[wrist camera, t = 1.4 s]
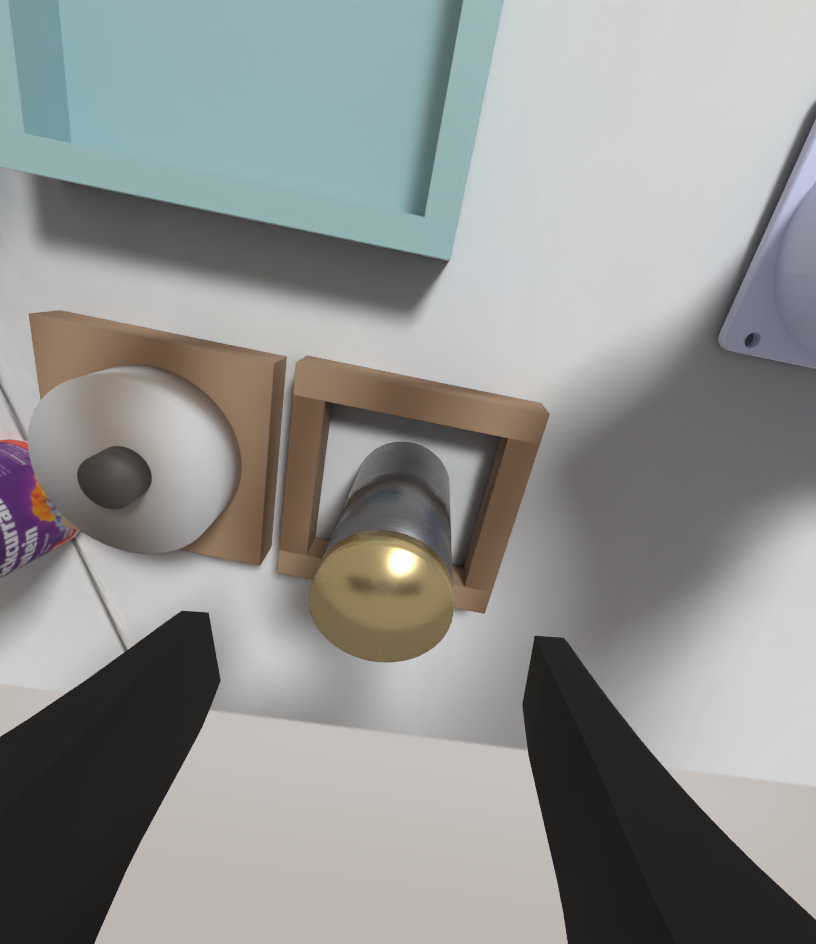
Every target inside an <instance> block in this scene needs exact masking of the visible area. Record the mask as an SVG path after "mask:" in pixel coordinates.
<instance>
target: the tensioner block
mask: <svg viewBox="0 0 816 944" xmlns="http://www.w3.org/2000/svg"><path fill="white" fill-rule="evenodd" d="M29 319H30V327H31V334H32V341H33V348H34V355H35V363H36V370H37V377H38V384H39V391H40V399H41V401H40V402H39V404H38V405H37V407H36V408H35V410H34V413H33V415H32V418H31V421H30V425H29V430H28V450H29V456H30V461H31V465H32V468H33V470H34V473H35V476H36V478H37V480H38V482H39V484H40V486H41V488H42V489H43V491H44V493H45V494H46V496H47V497H48V499H49V500H50V501H51V503H52V504H53V505H54V506H55V508H56V509H57V510H58V511H59V512H60V513H61V516H62V523H63V527H68V528H73V529H78V530H81V531H82V532H84V533H85V534H87V535H89V536H90V537H92V538H94V539H95V540H98V541H100V542H102V543H104V544H106V545H109V546H111V547H114V548H117V549H120V550H124V551H128V552H134V553H141V554H158V553H166V552H170V551H174V550H177V549H179V550H184V551H189V552H194V553H199V554H204V555H209V556H215V557H220V558H225V559H230V560H235V561H240V562H245V563H250V564H255V565H260V564H261V563H262V561H263V559H264V558H265V556H266V555H267V553H268V551H269V550H270V548H271V544H272V532H273V519H274V507H275V494H276V482H277V470H278V457H279V445H280V433H281V420H282V408H283V395H284V383H285V371H286V358H287V357H286V356H281V355H276V354H271V353H266V352H261V351H256V350H251V349H247V348H242V347H237V346H232V345H227V344H222V343H217V342H212V341H207V340H202V339H197V338H193V337H188V336H183V335H178V334H173V333H168V332H163V331H158V330H153V329H148V328H144V327H139V326H134V325H129V324H124V323H119V322H114V321H109V320H104V319H99V318H95V317H90V316H85V315H80V314H75V313H70V312H65V311H50V312H40V313H31V314H29ZM332 403H337V404H342V405H347V406H352V407H357V408H362V409H367V410H372V411H377V412H382V413H387V414H391V415H396V416H401V417H406V418H411V419H416V420H421V421H426V422H431V423H436V424H441V425H446V426H451V427H456V428H460V429H465V430H470V431H475V432H480V433H485V434H490V435H495V436H500V440H499V444H498V447H497V451H496V454H495V457H494V461H493V464H492V468H491V471H490V475H489V478H488V482H487V485H486V489H485V492H484V496H483V499H482V503H481V506H480V510H479V513H478V517H477V520H476V524H475V527H474V531H473V534H472V538H471V541H470V545H469V548H468V552H467V555H466V559H465V562H464V566H463V567H461V566H456V565H452V582H453V608H458V609H463V610H468V611H474V612H479V613H484V614H485V611H486V608H487V604H488V601H489V598H490V595H491V592H492V589H493V586H494V583H495V580H496V577H497V574H498V571H499V568H500V565H501V562H502V558H503V555H504V552H505V549H506V546H507V543H508V540H509V537H510V534H511V531H512V528H513V525H514V522H515V519H516V516H517V512H518V509H519V506H520V503H521V500H522V497H523V494H524V491H525V488H526V485H527V482H528V479H529V476H530V473H531V470H532V466H533V463H534V460H535V457H536V454H537V451H538V448H539V445H540V442H541V439H542V436H543V433H544V430H545V427H546V424H547V420H548V417H549V413H548V412H547V410H546V409H545V408H544V406H543V405H542V404H541V403H536V402H532V401H527V400H522V399H517V398H512V397H507V396H502V395H497V394H492V393H487V392H483V391H478V390H473V389H468V388H463V387H458V386H453V385H448V384H443V383H438V382H434V381H429V380H424V379H419V378H414V377H409V376H404V375H399V374H394V373H389V372H385V371H380V370H375V369H370V368H365V367H360V366H355V365H350V364H345V363H340V362H336V361H331V360H326V359H321V358H316V357H311V356H306V357H304V358H303V359H301V360H299V361H298V362H296V369H295V380H294V391H293V402H292V413H291V425H290V436H289V447H288V458H287V469H286V481H285V492H284V503H283V514H282V525H281V537H280V548H279V559H278V570H277V573H282V574H287V575H292V576H297V577H302V578H307V579H312V580H314V577H315V575H316V573H317V570H318V568H319V565H320V563H321V561H322V558H323V556H324V554H325V551H326V549H327V546H328V544H329V542H330V540H325V539H320V538H315V535H316V527H317V519H318V511H319V503H320V495H321V487H322V479H323V471H324V463H325V455H326V447H327V439H328V431H329V423H330V415H331V407H332Z"/></svg>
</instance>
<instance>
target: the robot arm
mask: <svg viewBox="0 0 816 944" xmlns="http://www.w3.org/2000/svg"><path fill="white" fill-rule="evenodd" d="M751 333H753V335H754V339H753V341H752V342H751V344H749V345H747V346H745V343H744V342H745V338H746V337H747V336H748V335H749V334H751ZM718 341H719V345H720V346H721V347H722V348H723V349H725V350H728V351H731V352H736V353H741V354H746V355H751V356H756V357H760V358H765V359H770V360H775V361H780V362H785V363H790V364H794V365H799V366H804V367H809V368H814V369H816V119H815V122H814V124H813V126H812V128H811V131H810V133H809V135H808V137H807V140H806V142H805V144H804V146H803V148H802V151H801V153H800V155H799V157H798V160H797V162H796V164H795V166H794V169H793V171H792V173H791V175H790V177H789V180H788V182H787V184H786V186H785V189H784V191H783V193H782V195H781V197H780V200H779V202H778V204H777V206H776V209H775V211H774V213H773V215H772V218H771V220H770V222H769V224H768V226H767V229H766V231H765V233H764V235H763V238H762V240H761V242H760V244H759V247H758V249H757V251H756V253H755V255H754V258H753V260H752V262H751V264H750V267H749V269H748V271H747V273H746V276H745V278H744V280H743V282H742V284H741V287H740V289H739V291H738V293H737V296H736V298H735V300H734V302H733V304H732V307H731V309H730V311H729V313H728V316H727V318H726V320H725V322H724V325H723V327H722V329H721V331H720V334H719V338H718ZM219 683H220V675H219V669H218V664H217V658H216V652H215V647H214V641H213V635H212V630H211V624H210V618H209V613H205V612H191V611H181V612H180V613H178V614H177V615H175V616H174V617H172V618H171V619H169V620H168V621H167V622H165V623H164V624H163V625H161V626H160V627H158V628H157V629H156V630H154V631H153V632H152V633H150V634H149V635H148V636H146V637H145V638H143V639H142V640H141V641H139V642H138V643H137V644H135V645H134V646H133V647H131V648H130V649H129V650H127V651H126V652H124V653H123V654H122V655H120V656H119V657H117V658H116V659H115V660H113V661H112V662H111V663H109V664H108V665H106V666H105V667H104V668H102V669H101V670H99V671H98V672H97V673H95V674H94V675H93V676H91V677H90V678H88V679H87V680H86V681H84V682H83V683H81V684H80V685H78V686H77V687H75V688H74V689H72V690H71V691H69V692H68V693H66V694H65V695H64V696H62V697H60V698H59V699H57V700H56V701H55V702H53V703H52V704H50V705H48V706H47V707H46V708H44V709H43V710H41V711H40V712H38V713H37V714H35V715H34V716H32V717H31V718H30V719H28V720H26V721H25V722H23V723H21V724H20V725H18V726H17V727H15V728H14V729H12V730H10V731H9V732H7V733H6V734H4V735H2V736H1V737H0V944H94V943H95V940H96V938H97V936H98V933H99V931H100V929H101V926H102V924H103V922H104V920H105V917H106V915H107V913H108V910H109V908H110V906H111V904H112V901H113V899H114V897H115V895H116V892H117V890H118V888H119V886H120V883H121V881H122V879H123V877H124V874H125V872H126V870H127V868H128V866H129V864H130V862H131V860H132V858H133V856H134V854H135V852H136V850H137V848H138V846H139V844H140V842H141V840H142V838H143V836H144V834H145V832H146V831H147V829H148V827H149V825H150V823H151V821H152V820H153V817H154V816H155V814H156V812H157V810H158V808H159V807H160V805H161V803H162V801H163V799H164V797H165V796H166V794H167V792H168V790H169V788H170V786H171V784H172V783H173V781H174V779H175V777H176V775H177V773H178V772H179V770H180V768H181V766H182V764H183V762H184V760H185V759H186V757H187V755H188V753H189V751H190V749H191V747H192V745H193V744H194V742H195V740H196V738H197V736H198V734H199V732H200V730H201V728H202V726H203V723H204V721H205V719H206V716H207V714H208V712H209V709H210V707H211V704H212V702H213V699H214V696H215V694H216V691H217V689H218V686H219ZM523 713H524V722H525V731H526V738H527V746H528V754H529V759H530V764H531V768H532V773H533V777H534V781H535V786H536V790H537V795H538V799H539V804H540V808H541V812H542V817H543V821H544V825H545V830H546V834H547V838H548V843H549V847H550V851H551V856H552V860H553V865H554V869H555V873H556V878H557V882H558V888H559V892H560V898H561V903H562V908H563V913H564V920H565V927H566V934H567V940H568V944H816V920H815V919H814V918H813V917H812V916H811V915H810V914H809V913H808V912H807V911H806V910H805V909H803V908H802V907H801V906H800V905H799V904H798V903H797V902H796V901H795V900H794V899H793V898H792V897H790V896H789V895H788V894H787V893H786V892H785V891H784V890H783V889H782V888H781V887H780V886H779V885H777V884H776V883H775V882H774V881H773V880H772V879H771V878H770V877H769V876H768V875H767V874H766V873H765V872H763V871H762V870H761V869H760V868H759V867H758V866H757V865H756V864H755V863H754V862H753V861H752V860H751V859H750V858H749V857H748V856H747V855H746V854H745V853H744V852H743V851H742V850H741V849H740V848H739V847H738V846H737V845H736V844H735V843H734V842H733V841H732V840H731V839H730V838H729V837H728V836H727V835H726V834H725V833H724V832H723V831H722V830H721V829H720V828H719V827H718V826H717V825H716V824H715V823H714V822H713V821H712V820H711V819H710V818H709V817H708V816H707V814H706V813H705V812H704V811H703V810H702V809H701V808H700V807H699V806H698V805H697V804H696V803H695V802H694V800H693V799H692V798H691V797H690V796H689V795H688V794H687V793H686V792H685V791H684V789H683V788H682V787H681V786H680V785H679V784H678V783H677V782H676V781H675V780H674V778H673V777H672V776H671V775H670V774H669V773H668V771H667V770H666V769H665V768H664V767H663V766H662V764H661V763H660V762H659V761H658V760H657V759H656V757H655V756H654V755H653V754H652V753H651V752H650V750H649V749H648V748H647V747H646V745H645V744H644V743H643V742H642V741H641V739H640V738H639V737H638V736H637V735H636V733H635V732H634V731H633V729H632V728H631V727H630V726H629V724H628V723H627V722H626V721H625V719H624V718H623V717H622V716H621V714H620V713H619V712H618V710H617V709H616V708H615V707H614V705H613V704H612V703H611V701H610V700H609V699H608V697H607V696H606V695H605V694H604V692H603V691H602V689H601V688H600V687H599V685H598V684H597V683H596V681H595V680H594V679H593V677H592V676H591V674H590V673H589V672H588V670H587V669H586V668H585V666H584V665H583V663H582V662H581V661H580V659H579V658H578V656H577V655H576V653H575V652H574V651H573V649H572V648H571V646H570V645H569V644H568V642H567V641H566V640H565V639H564V638H558V637H544V636H535V638H534V644H533V649H532V655H531V660H530V666H529V671H528V677H527V682H526V688H525V694H524V699H523Z"/></svg>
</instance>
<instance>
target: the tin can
mask: <svg viewBox="0 0 816 944" xmlns="http://www.w3.org/2000/svg"><path fill="white" fill-rule="evenodd" d="M309 604H310V610H311V614H312V617H313V619H314V622H315V624H316V625H317V627H318V629H319V630H320V631H321V633H322V634H323V635H324V636H325V637H326V638H327V639H328V640H329V641H330V642H331V643H332V644H334V645H335V646H336V647H338V648H339V649H341V650H343V651H344V652H346V653H348V654H350V655H352V656H355V657H358V658H361V659H365V660H369V661H375V662H398V661H405V660H408V659H412V658H415V657H417V656H420V655H422V654H424V653H426V652H428V651H429V650H430V649H432V648H433V647H435V646H436V645H437V644H438V643H439V642H440V641H441V640H442V638H443V637H444V636H445V634H446V633H447V631H448V629H449V627H450V624H451V622H452V617H453V582H452V552H451V522H450V492H449V478H448V474H447V471H446V469H445V467H444V465H443V463H442V462H441V460H440V459H439V458H438V457H437V456H436V455H435V454H434V453H433V452H431V451H430V450H429V449H427V448H425V447H423V446H421V445H418V444H414V443H410V442H393V443H389V444H386V445H383V446H381V447H379V448H377V449H375V450H374V451H373V452H371V453H370V454H369V455H368V456H367V457H366V459H365V460H364V462H363V463H362V465H361V467H360V470H359V472H358V474H357V477H356V479H355V482H354V484H353V486H352V489H351V491H350V494H349V496H348V498H347V501H346V503H345V506H344V508H343V510H342V513H341V515H340V518H339V520H338V522H337V525H336V527H335V530H334V532H333V534H332V537H331V539H330V542H329V544H328V546H327V549H326V551H325V554H324V556H323V558H322V561H321V563H320V565H319V568H318V570H317V573H316V575H315V577H314V580H313V583H312V585H311V589H310V594H309Z"/></svg>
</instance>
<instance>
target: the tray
mask: <svg viewBox="0 0 816 944" xmlns="http://www.w3.org/2000/svg"><path fill="white" fill-rule="evenodd" d="M502 4H503V0H0V167H3V168H7V169H12V170H16V171H20V172H24V173H29V174H33V175H37V176H41V177H45V178H50V179H54V180H58V181H63V182H68V183H73V184H77V185H82V186H87V187H92V188H97V189H101V190H106V191H111V192H116V193H121V194H126V195H130V196H135V197H140V198H145V199H150V200H154V201H159V202H164V203H169V204H174V205H179V206H183V207H188V208H193V209H198V210H203V211H207V212H212V213H217V214H222V215H227V216H232V217H236V218H241V219H246V220H251V221H256V222H260V223H265V224H270V225H275V226H280V227H285V228H289V229H294V230H299V231H304V232H309V233H313V234H318V235H323V236H328V237H333V238H338V239H342V240H347V241H352V242H357V243H362V244H366V245H371V246H376V247H381V248H386V249H391V250H395V251H400V252H405V253H410V254H415V255H419V256H424V257H429V258H434V259H439V260H444V261H448V262H449V261H450V257H451V252H452V248H453V243H454V238H455V233H456V228H457V223H458V218H459V214H460V209H461V204H462V199H463V194H464V189H465V184H466V180H467V175H468V170H469V165H470V160H471V155H472V150H473V145H474V141H475V136H476V131H477V126H478V121H479V116H480V111H481V107H482V102H483V97H484V92H485V87H486V82H487V77H488V73H489V68H490V63H491V58H492V53H493V48H494V43H495V39H496V34H497V29H498V24H499V19H500V14H501V9H502Z"/></svg>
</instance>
